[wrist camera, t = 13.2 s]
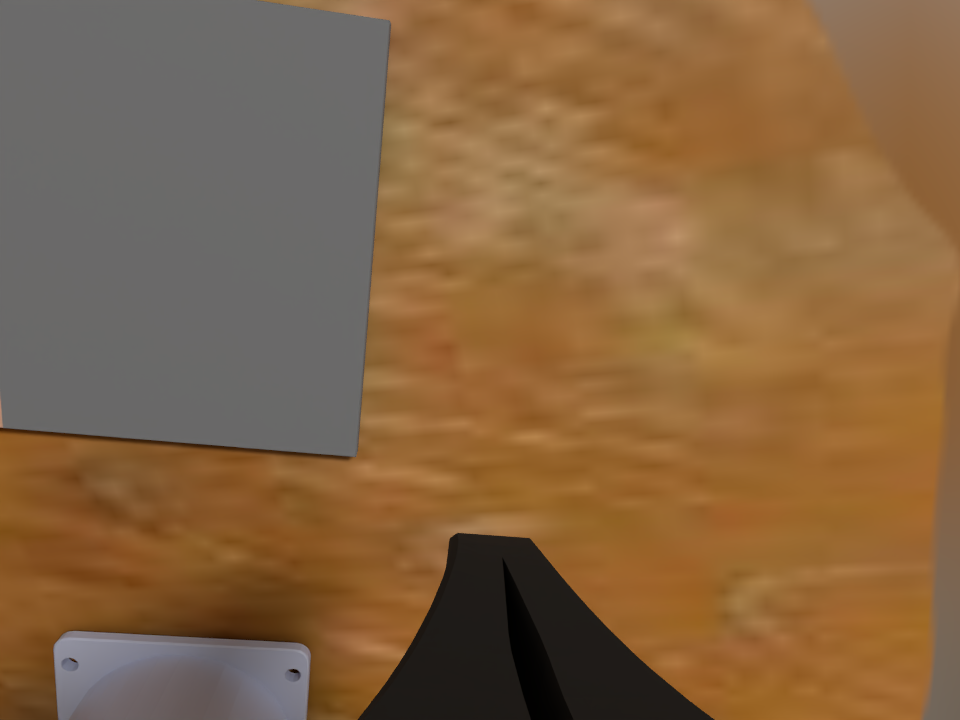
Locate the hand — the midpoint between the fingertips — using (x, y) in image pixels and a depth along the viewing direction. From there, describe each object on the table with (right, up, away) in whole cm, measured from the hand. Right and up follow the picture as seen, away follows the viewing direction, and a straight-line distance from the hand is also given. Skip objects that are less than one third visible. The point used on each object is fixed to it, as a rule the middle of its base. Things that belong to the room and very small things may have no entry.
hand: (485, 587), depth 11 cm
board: (-13, +8, +7) cm, 17 cm away
